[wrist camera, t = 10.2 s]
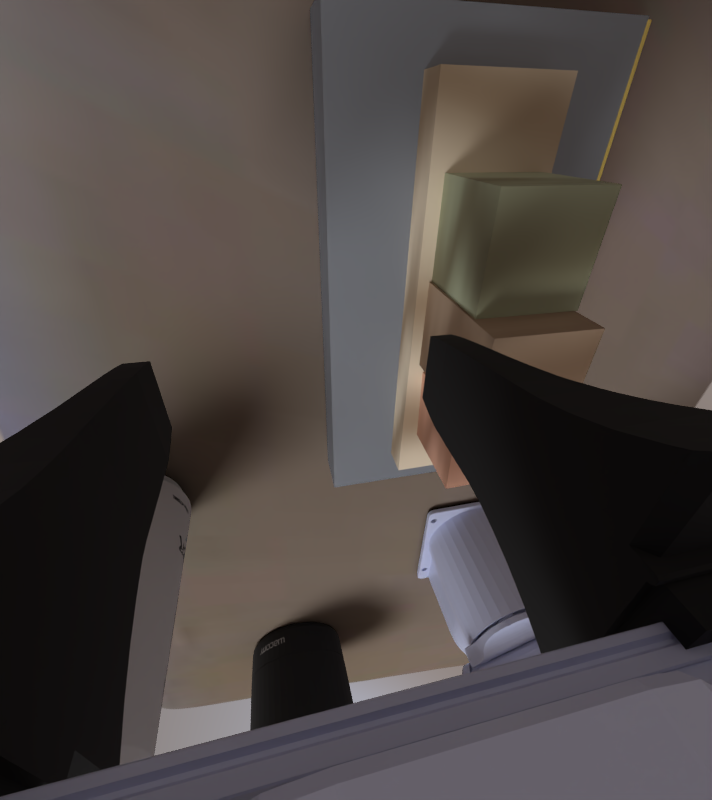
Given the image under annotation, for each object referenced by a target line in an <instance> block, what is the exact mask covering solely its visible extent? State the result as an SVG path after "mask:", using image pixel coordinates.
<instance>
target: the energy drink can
mask: <svg viewBox="0 0 712 800" xmlns="http://www.w3.org/2000/svg"><path fill="white" fill-rule="evenodd" d="M190 517H191V504H190V501H189V499H188V497H187V495H186V494H185V493H184V492H183V491H182V489H181V487H180V486H179V485H178V484H177V483H176V482H175V481H174V480H172V479H171V478H169V477H167V476H164V480H163V483H162V487H161V491H160V494H159V498H158V501H157V505H156V509H155V512H154V516H153V519H152V523H151V527H150V530H149V534H148V537H147V541H146V546H145V550H144V555H143V559H142V566H141V572H140V579H139V585H138V591H137V598H136V605H135V613H134V621H133V628H132V636H131V644H130V653H129V663H128V673H127V682H126V692H125V702H124V715H123V728H122V741H121V754H120V765H122V764H126V763H130V762H133V761H137V760H141V759H145V758H148V757H152V756H154V753H155V746H156V739H157V733H158V727H159V720H160V713H161V707H162V700H163V694H164V687H165V681H166V674H167V667H168V661H169V654H170V648H171V641H172V635H173V628H174V622H175V615H176V608H177V602H178V595H179V589H180V582H181V576H182V569H183V563H184V556H185V549H186V543H187V536H188V530H189V523H190Z"/></svg>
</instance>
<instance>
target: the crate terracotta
mask: <svg viewBox="0 0 712 800" xmlns="http://www.w3.org/2000/svg"><path fill="white" fill-rule="evenodd" d="M425 374H426V373H425V372H423V374H422V385H421V396H420V406H419V417H418V427H417V436H418V438H419V440H420V441H421V443H422V445H423V447H424V449H425V451H426V453H427V454H428V456H429V458H430V460H431V462H432V464H433V465H434V467H435V469H436V471H437V473H438V475H439V477H440V478H441V480H442V482H443V484H444V486H445V488H446V489H447V488H453V487H458V486H463V485H468V484H469V482H468V481H467V479H466V477H465V476H464V474H463V473H462V471H461V469H460V468H459V466H458V464H457V463H456V461H455V460H454V458H453V456H452V455H451V453H450V452H449V450H448V448H447V447H446V445H445V443H444V442H443V440H442V438H441V437H440V435H439V433H438V432H437V430H436V428H435V427H434V425H433V422H432V420H431V418H430V416H429V413H428V411H427V408H426V406H425V403H424V401H423V398H422V396H423V389H424V381H425Z"/></svg>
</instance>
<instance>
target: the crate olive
mask: <svg viewBox="0 0 712 800" xmlns="http://www.w3.org/2000/svg"><path fill="white" fill-rule="evenodd" d="M621 186H622V184H616V183H610V182H604V181H597V180H591V179H585V178H578V177H572V176H566V175H559V174H553V173H547V172H486V173H445V177H444V185H443V193H442V202H441V210H440V218H439V226H438V235H437V243H436V251H435V259H434V267H433V276H432V283H434V284H435V285H436V286H437V287H438V288H439V289H441V290H442V291H443V292H444V293H445V294H446V295H448V296H449V297H450V298H451V299H452V300H453V301H455V302H456V303H457V304H458V305H459V306H460V307H461V308H463V309H464V310H465V311H466V312H467V313H468V314H470V315H471V316H472V317H473V318H474V319H486V318H498V317H509V316H521V315H532V314H544V313H556V312H567V311H578V308H579V305H580V302H581V299H582V297H583V294H584V291H585V288H586V285H587V282H588V280H589V277H590V274H591V271H592V268H593V265H594V263H595V260H596V257H597V254H598V251H599V248H600V246H601V243H602V240H603V237H604V234H605V231H606V228H607V226H608V223H609V220H610V217H611V214H612V211H613V209H614V206H615V203H616V200H617V197H618V194H619V192H620V189H621Z"/></svg>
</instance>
